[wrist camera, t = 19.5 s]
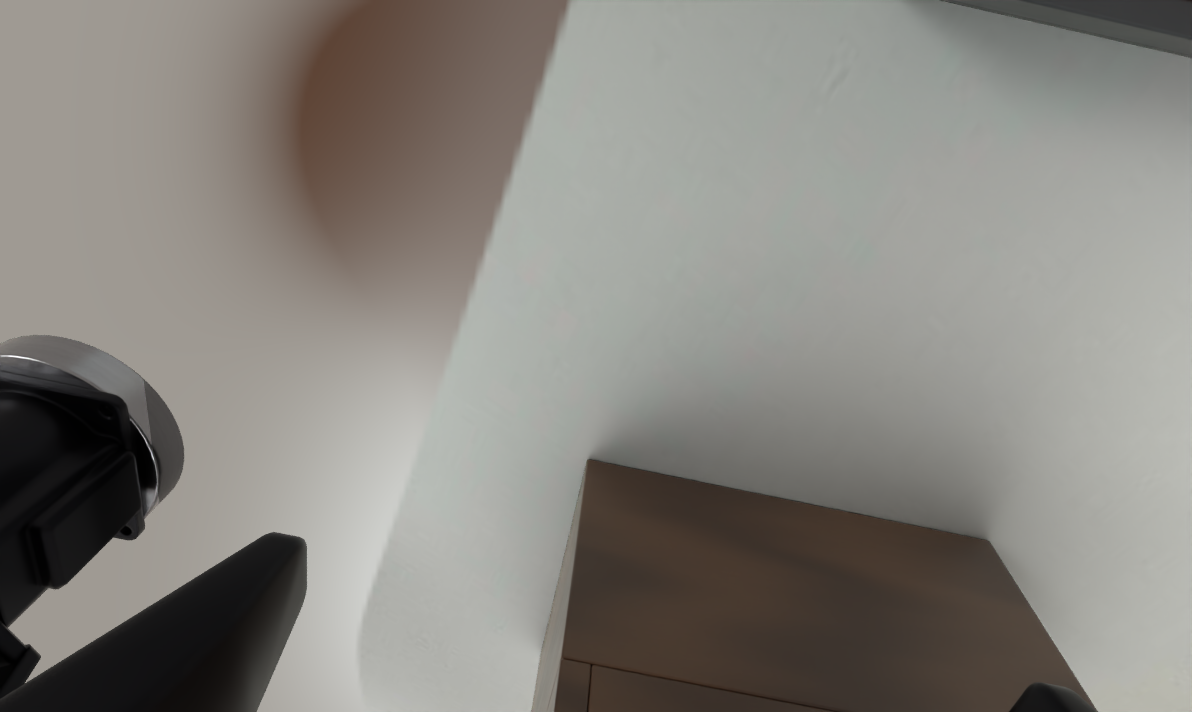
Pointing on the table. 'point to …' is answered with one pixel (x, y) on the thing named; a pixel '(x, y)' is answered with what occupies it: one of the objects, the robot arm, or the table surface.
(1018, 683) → the box
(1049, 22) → the tub
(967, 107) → the table surface
